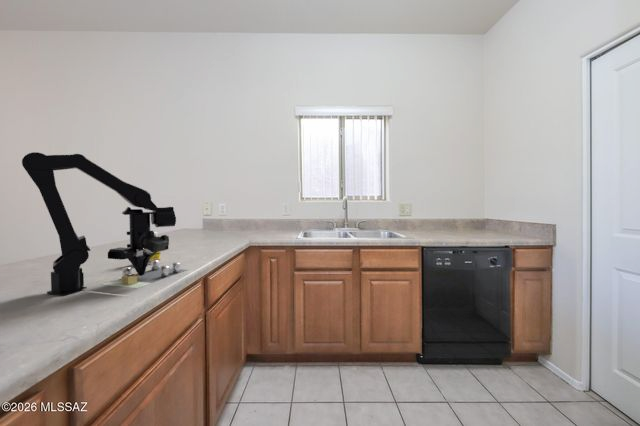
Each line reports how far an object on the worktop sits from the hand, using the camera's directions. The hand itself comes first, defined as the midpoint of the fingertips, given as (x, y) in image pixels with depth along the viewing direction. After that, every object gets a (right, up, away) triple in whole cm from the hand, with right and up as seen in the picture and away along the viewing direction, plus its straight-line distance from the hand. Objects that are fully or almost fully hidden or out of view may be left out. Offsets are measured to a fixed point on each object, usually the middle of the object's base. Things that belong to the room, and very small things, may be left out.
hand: (141, 275), depth 97 cm
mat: (+1, -2, +3) cm, 4 cm away
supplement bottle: (-10, -1, +24) cm, 26 cm away
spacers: (+1, -1, +5) cm, 6 cm away
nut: (-1, -2, -4) cm, 5 cm away
